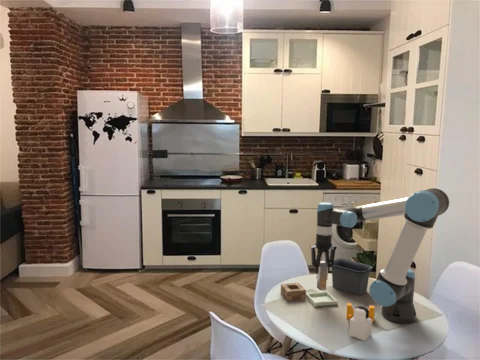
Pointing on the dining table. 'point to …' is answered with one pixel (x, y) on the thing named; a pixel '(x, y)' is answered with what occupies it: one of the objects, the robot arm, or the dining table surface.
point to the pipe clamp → (351, 311)
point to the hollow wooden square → (293, 291)
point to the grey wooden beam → (322, 276)
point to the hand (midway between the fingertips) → (321, 279)
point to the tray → (321, 299)
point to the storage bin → (350, 276)
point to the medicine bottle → (360, 323)
